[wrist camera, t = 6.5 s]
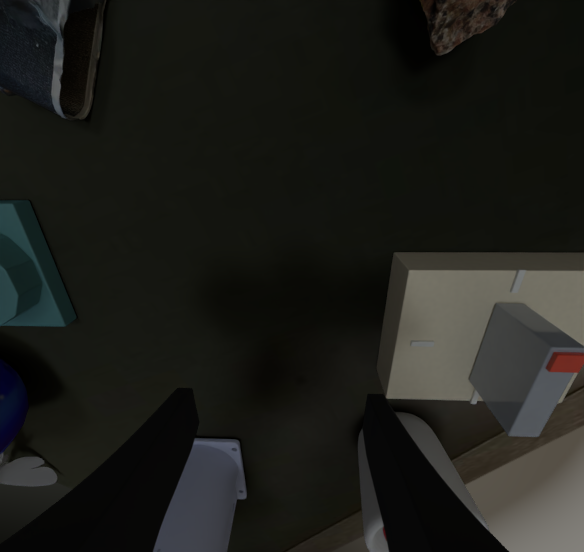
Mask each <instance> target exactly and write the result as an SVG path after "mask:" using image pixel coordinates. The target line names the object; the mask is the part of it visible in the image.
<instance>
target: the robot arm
mask: <svg viewBox="0 0 584 552" xmlns="http://www.w3.org/2000/svg"><path fill="white" fill-rule="evenodd" d="M198 425H199V419H198V414H197V409H196V404H195V400H194V395H193V390H192V388H177V389H176V390H175V391H174V392H173V393H172V394H171V395H170V396H169V397H168V399H167V400H166V401H165V402H164V403H163V404H162V405H161V406H160V407H159V408H158V409H157V410H156V411H155V412H154V414H153V415H152V416H151V417H150V418H149V419H148V420H147V421H146V422H145V423H144V424H143V425H142V426H141V427H140V428H139V429H138V430H137V431H136V432H135V433H134V434H133V435H132V436H131V437H130V438H129V439H128V440H127V441H126V442H125V443H124V444H123V445H122V446H121V447H120V448H119V449H118V450H117V451H116V452H115V453H113V454H112V455H111V456H110V457H109V458H108V459H107V460H106V461H105V462H104V463H103V464H102V465H101V466H99V467H98V468H97V469H96V470H95V471H94V472H93V473H91V474H90V475H89V476H88V477H87V478H86V479H84V480H83V481H82V482H81V483H80V484H79V485H77V486H76V487H75V488H74V489H73V490H71V491H70V492H69V493H68V494H66V495H65V496H64V497H63V498H61V499H60V500H59V501H58V502H56V503H55V504H54V505H52V506H51V507H50V508H49V509H48V510H46V511H45V512H43V513H42V514H41V515H40V516H38V517H37V518H36V519H34V520H33V521H32V522H30V523H29V524H27V525H26V526H25V527H23V528H22V529H21V530H19V531H18V532H16V533H15V534H14V535H12V536H11V537H10V538H8V539H7V540H5V541H4V542H2V543H1V544H0V552H227V548H228V543H229V538H230V533H231V528H232V522H233V517H234V512H235V507H236V502H237V499H245V498H246V496H247V490H246V483H245V476H244V469H243V462H242V455H241V448H240V442H239V441H238V440H236V439H213V438H195V436H196V433H197V429H198ZM362 430H363V437H364V444H365V450H366V457H367V461H368V465H369V469H370V473H371V477H372V481H373V485H374V489H375V493H376V497H377V501H378V505H379V509H380V513H381V517H382V521H383V525H384V530H385V534H386V539H387V544H388V550H389V552H509V551H508V550H507V549H506V548H505V547H504V546H502V544H501V543H500V542H499V541H498V540H497V539H496V538H495V537H494V536H493V535H492V534H491V533H490V532H489V531H488V530H487V529H486V528H485V527H484V526H483V524H482V523H481V522H480V521H479V520H478V519H477V518H476V517H475V516H474V515H473V513H472V512H471V511H470V510H469V509H468V508H467V507H466V506H465V505H464V503H463V502H462V501H461V500H460V499H459V498H458V496H457V495H456V494H455V493H454V492H453V491H452V489H451V488H450V487H449V486H448V485H447V483H446V482H445V481H444V480H443V479H442V477H441V476H440V475H439V473H438V472H437V471H436V470H435V468H434V467H433V466H432V465H431V463H430V462H429V461H428V459H427V458H426V457H425V455H424V454H423V453H422V451H421V450H420V448H419V447H418V446H417V444H416V443H415V441H414V440H413V439H412V437H411V436H410V434H409V433H408V432H407V430H406V429H405V427H404V426H403V424H402V423H401V421H400V420H399V418H398V417H397V415H396V413H395V412H394V410H393V409H392V407H391V405H390V404H389V402H388V400H387V399H386V397H385V396H384V395H383V394H368V395H367V401H366V408H365V414H364V421H363V427H362Z"/></svg>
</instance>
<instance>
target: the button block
mask: <svg viewBox="0 0 584 552" xmlns="http://www.w3.org/2000/svg"><path fill="white" fill-rule="evenodd" d="M76 318H77V317H76V314H75V312H74V309H73V307H72V305H71V302H70V300H69V297H68V295H67V292H66V290H65V287H64V285H63V282H62V280H61V277H60V275H59V273H58V270H57V268H56V265H55V263H54V260H53V258H52V255H51V253H50V250H49V248H48V246H47V243H46V241H45V238H44V236H43V233H42V231H41V228H40V226H39V223H38V221H37V218H36V216H35V214H34V211H33V209H32V206H31V204H30V201H28V200H0V326H67V325H68V324H69V323H71V322H72V321H73V320H75V319H76Z"/></svg>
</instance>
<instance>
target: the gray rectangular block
mask: <svg viewBox="0 0 584 552" xmlns="http://www.w3.org/2000/svg"><path fill="white" fill-rule="evenodd" d="M583 364H584V346H583V345H582V344H580V343H579V342H577V341H576V340H575V339H573V338H572V337H570V336H569V335H568V334H566V333H565V332H563V331H562V330H560V329H559V328H558V327H556V326H555V325H553V324H552V323H551V322H549V321H548V320H546V319H545V318H543V317H542V316H541V315H539V314H538V313H536V312H535V311H534V310H532V309H531V308H529V307H528V306H527V305H525V304H519V303H496V305H495V308H494V311H493V313H492V316H491V319H490V322H489V325H488V327H487V330H486V333H485V336H484V339H483V342H482V344H481V347H480V350H479V353H478V356H477V359H476V361H475V364H474V367H473V370H472V373H471V375H470V378H469V381H470V382H471V384H472V385H473V387H474V388H475V389H476V391H477V392H478V394H479V395H480V396H481V398H482V399H483V401H484V402H485V404H486V405H487V406H488V408H489V409H490V411H491V412H492V413H493V415H494V416H495V418H496V419H497V420H498V422H499V423H500V425H501V426H502V428H503V429H504V430H505V432H506V433H507V435H508V436H523V437H538V436H539V435H540V433H541V431H542V430H543V428H544V426H545V424H546V422H547V421H548V419H549V417H550V415H551V414H552V412H553V410H554V408H555V406H556V405H557V403H558V401H559V399H560V397H561V396H562V394H563V392H564V390H565V389H566V387H567V385H568V383H569V381H570V380H571V378H572V376H573V374H574V373H579V371H580V369H581V368H582V366H583Z"/></svg>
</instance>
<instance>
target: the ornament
mask: <svg viewBox="0 0 584 552" xmlns="http://www.w3.org/2000/svg"><path fill="white" fill-rule="evenodd" d="M28 408H29V404H28V397H27V390H26V387H25V385H24V383H23V381H22V379H21V377H20V376H19V375H18V373H17V372H16V371H15V370H14V369H13V368H12V367H11V366H10V365H9V364H7V363H6V362H5V361H4V360H3V359H0V454H1V453H2V452H3V451H4V450H5V449H6V448H7V447H8V445H9V444H10V443H11V442H12V441H13V439H14V438H15V436H16V435H17V433H18V432H19V430H20V429H21V427H22V426H23V424H24V421H25V418H26V415H27V411H28Z"/></svg>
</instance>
